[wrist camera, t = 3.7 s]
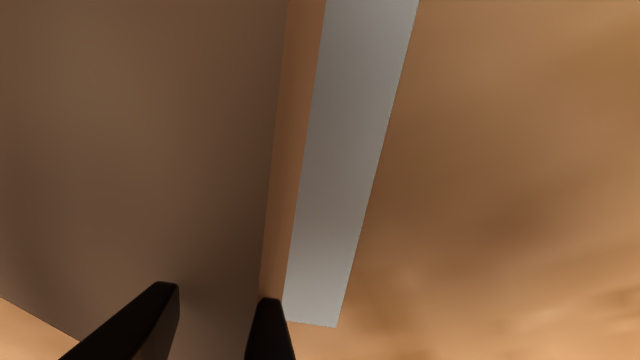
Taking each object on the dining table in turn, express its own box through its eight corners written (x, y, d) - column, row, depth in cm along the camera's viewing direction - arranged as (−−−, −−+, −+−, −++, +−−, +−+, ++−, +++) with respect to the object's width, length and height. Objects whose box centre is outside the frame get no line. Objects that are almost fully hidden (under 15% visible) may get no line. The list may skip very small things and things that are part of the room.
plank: (346, -140, 5) (304, -153, 4) (268, 390, 11) (243, 432, 10) (-170, -221, 8) (-267, -241, 7) (-13, 243, 14) (-55, 266, 13)
